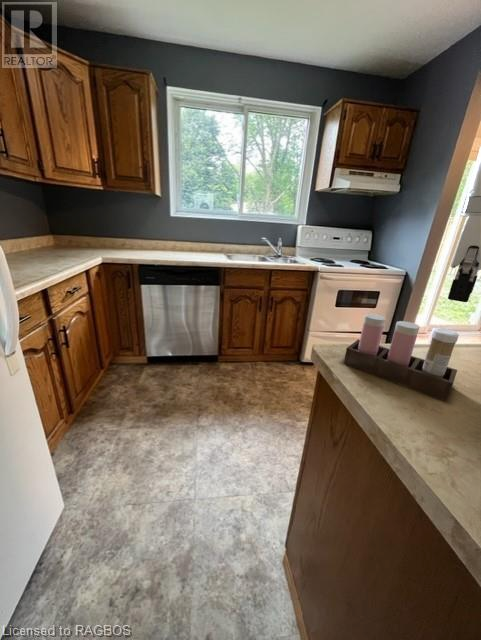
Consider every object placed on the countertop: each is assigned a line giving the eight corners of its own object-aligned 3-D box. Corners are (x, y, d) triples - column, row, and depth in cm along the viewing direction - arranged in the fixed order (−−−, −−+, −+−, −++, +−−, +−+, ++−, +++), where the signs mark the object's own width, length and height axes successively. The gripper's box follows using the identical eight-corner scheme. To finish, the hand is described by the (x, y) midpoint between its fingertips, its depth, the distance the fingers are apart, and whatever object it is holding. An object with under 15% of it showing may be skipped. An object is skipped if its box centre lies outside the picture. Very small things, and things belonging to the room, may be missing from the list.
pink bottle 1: (377, 361, 74) (388, 316, 69) (371, 368, 70) (382, 321, 66) (359, 355, 77) (368, 312, 72) (352, 361, 73) (362, 316, 69)
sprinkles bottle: (416, 376, 67) (432, 325, 62) (438, 380, 65) (455, 329, 61) (419, 385, 63) (436, 332, 58) (443, 390, 61) (462, 336, 57)
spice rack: (451, 386, 65) (457, 369, 63) (446, 401, 59) (453, 383, 57) (355, 353, 79) (358, 339, 78) (343, 363, 73) (346, 347, 72)
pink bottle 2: (407, 372, 69) (421, 324, 65) (402, 379, 66) (417, 330, 61) (387, 365, 72) (399, 319, 68) (381, 371, 69) (394, 324, 64)
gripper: (466, 210, 59) (444, 286, 65) (457, 206, 47) (431, 300, 53) (513, 210, 55) (485, 292, 61) (516, 205, 43) (480, 309, 49)
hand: (460, 296), depth 57 cm, fingers open, 9 cm apart
